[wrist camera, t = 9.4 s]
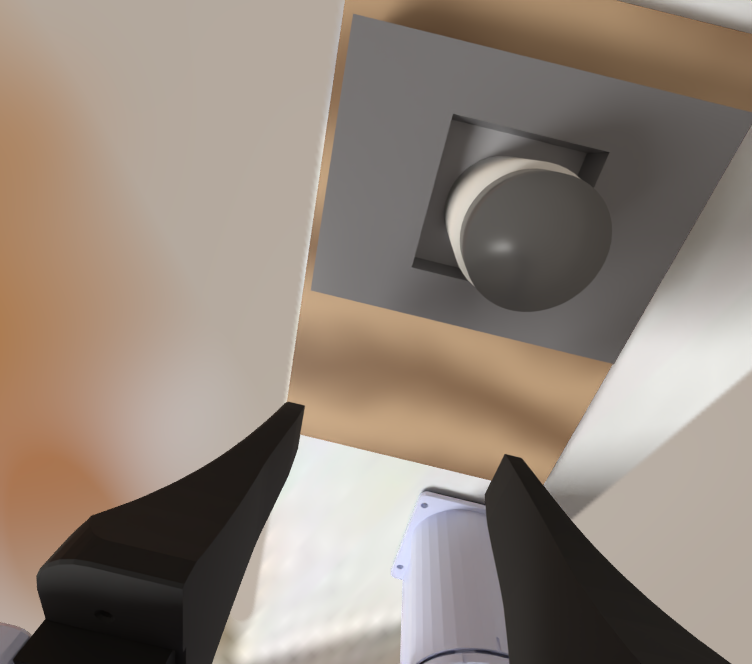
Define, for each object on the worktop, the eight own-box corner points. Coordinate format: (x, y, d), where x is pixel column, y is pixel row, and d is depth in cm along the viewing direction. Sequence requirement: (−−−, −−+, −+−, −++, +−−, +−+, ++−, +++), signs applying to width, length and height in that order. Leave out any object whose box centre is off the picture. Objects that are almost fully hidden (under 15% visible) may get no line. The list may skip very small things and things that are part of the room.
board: (534, 480, 25) (539, 492, 24) (287, 420, 25) (282, 430, 24) (772, 51, 15) (795, 44, 14) (358, -52, 15) (354, -65, 14)
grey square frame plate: (697, 121, 15) (757, 113, 13) (586, 335, 20) (613, 364, 17) (364, 39, 15) (352, 13, 13) (325, 272, 20) (310, 290, 17)
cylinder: (570, 204, 16) (655, 239, 10) (492, 278, 18) (528, 343, 12) (497, 131, 15) (546, 124, 9) (423, 217, 17) (426, 255, 11)
